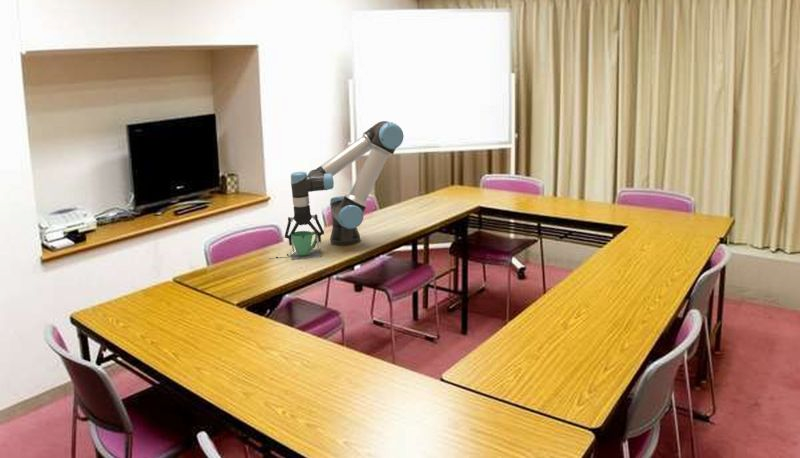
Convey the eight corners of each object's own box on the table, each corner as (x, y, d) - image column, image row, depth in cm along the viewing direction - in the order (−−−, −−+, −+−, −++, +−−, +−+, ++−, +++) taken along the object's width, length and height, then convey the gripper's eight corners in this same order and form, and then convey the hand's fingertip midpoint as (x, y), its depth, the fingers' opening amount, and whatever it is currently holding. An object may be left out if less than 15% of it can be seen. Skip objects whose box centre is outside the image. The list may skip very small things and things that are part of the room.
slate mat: (320, 248, 332) (320, 248, 331) (321, 256, 318) (321, 256, 318) (291, 251, 330) (291, 251, 330) (291, 259, 316) (291, 259, 316)
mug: (301, 258, 315) (300, 237, 312) (288, 254, 321) (287, 233, 319) (325, 251, 326) (324, 231, 323) (311, 248, 332) (310, 228, 329)
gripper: (326, 201, 323) (330, 245, 329) (276, 206, 320) (280, 250, 325) (327, 204, 316) (331, 249, 321) (275, 209, 313) (280, 255, 318)
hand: (306, 250), depth 323 cm, fingers closed on mug, 11 cm apart
